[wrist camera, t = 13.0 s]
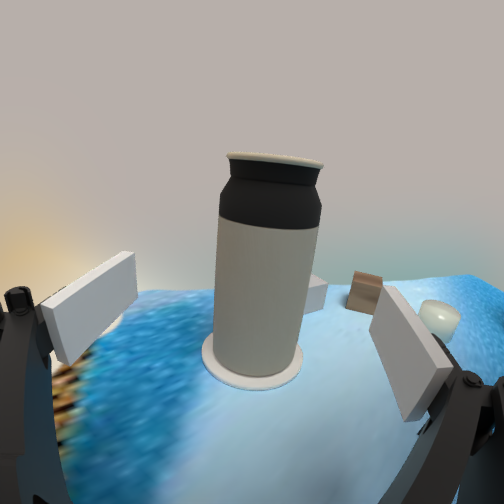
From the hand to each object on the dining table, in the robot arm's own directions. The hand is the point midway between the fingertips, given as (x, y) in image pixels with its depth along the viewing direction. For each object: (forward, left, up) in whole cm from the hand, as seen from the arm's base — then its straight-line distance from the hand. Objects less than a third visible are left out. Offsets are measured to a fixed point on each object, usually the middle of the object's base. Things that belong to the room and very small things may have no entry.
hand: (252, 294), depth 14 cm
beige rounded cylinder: (-28, +9, -12) cm, 32 cm away
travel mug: (-7, -6, -11) cm, 15 cm away
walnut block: (-27, -3, -12) cm, 30 cm away
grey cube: (-20, -9, -12) cm, 25 cm away
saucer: (-7, -6, -12) cm, 15 cm away
